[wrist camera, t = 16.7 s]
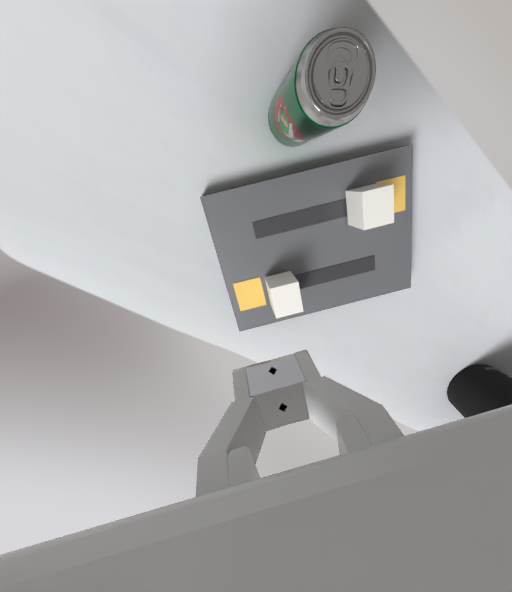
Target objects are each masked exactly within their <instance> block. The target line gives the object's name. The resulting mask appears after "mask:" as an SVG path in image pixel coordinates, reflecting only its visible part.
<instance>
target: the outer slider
mask: <svg viewBox="0 0 512 592" xmlns="http://www.w3.org/2000/svg"><path fill="white" fill-rule="evenodd" d="M265 282H266V286H267V291H268V295H269V299H270V304H271V307H272V309H273V312H274V314H275V317H276V319H277V318H281V317H284V316H288V315H292V314H296V313H300V312H304V311H303V305H302V300H301V294H300V288H299V282H298V280H297V279H296V278H295V276H294V275H293V274H292V273H291V271H287V272H283V273H279V274H276V275H272V276H268V277H265Z"/></svg>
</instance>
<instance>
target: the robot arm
mask: <svg viewBox="0 0 512 592" xmlns="http://www.w3.org/2000/svg"><path fill="white" fill-rule="evenodd" d="M232 374H233V384H234V395H235V402H232V403H231V404H230V406H229V407H228V409H227V411H226V413H225V414H224V416H223V418H222V419H221V421H220V423H219V424H218V426H217V428H216V429H215V431H214V433H213V434H212V436H211V438H210V439H209V441H208V443H207V444H206V446H205V448H204V449H203V451H202V453H201V454H200V456H199V458H198V469H197V486H196V497H195V498H192V499H188V500H185V501H182V502H178V503H175V504H171V505H168V506H165V507H161V508H158V509H154V510H151V511H148V512H144V513H141V514H137V515H134V516H131V517H127V518H124V519H121V520H117V521H114V522H110V523H107V524H104V525H100V526H97V527H93V528H90V529H87V530H83V531H80V532H76V533H73V534H69V535H66V536H63V537H59V538H56V539H53V540H49V541H46V542H42V543H39V544H36V545H32V546H29V547H25V548H22V549H19V550H15V551H12V552H8V553H5V554H2V555H0V592H512V404H511V405H508V406H505V407H501V408H498V409H494V410H491V411H488V412H484V413H481V414H477V415H474V416H471V417H467V418H464V419H460V420H457V421H454V422H450V423H447V424H443V425H440V426H436V427H433V428H430V429H426V430H423V431H419V432H416V433H413V434H409V435H406V436H404V435H403V433H402V432H401V430H400V429H399V428H398V426H397V425H396V424H395V422H394V421H393V419H392V418H391V417H390V415H389V414H388V412H387V411H386V410H385V408H384V407H383V405H381V404H379V403H377V402H375V401H373V400H371V399H369V398H367V397H365V396H363V395H361V394H359V393H357V392H355V391H353V390H351V389H349V388H347V387H345V386H343V385H341V384H339V383H337V382H335V381H334V380H332V379H330V378H328V377H326V376H323V377H321V376H320V374H319V372H318V370H317V368H316V366H315V365H314V363H313V361H312V359H311V357H310V355H309V353H308V351H307V350H302V351H299V352H296V353H294V354H290V355H287V356H283V357H280V358H276V359H273V360H269V361H265V362H261V363H257V364H253V365H250V366H246V367H243V368H239V369H235V370H233V373H232ZM307 419H310V420H311V421H312V422H313V423H315V424H316V425H317V426H318V427H319V428H321V429H322V430H323V431H324V432H325V433H327V434H328V435H329V436H330V437H331V438H333V439H334V440H335V441H336V442H338V446H339V453H340V455H338V456H335V457H331V458H328V459H325V460H321V461H318V462H314V463H311V464H307V465H304V466H301V467H297V468H294V469H291V470H287V471H284V472H280V473H277V474H273V475H270V476H267V477H263V478H260V476H259V473H258V471H257V468H256V465H255V464H256V461H257V458H258V455H259V452H260V449H261V446H262V443H263V440H264V437H265V434H266V431H269V430H272V429H275V428H278V427H281V426H284V425H287V424H291V423H295V422H299V421H303V420H307Z"/></svg>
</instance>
